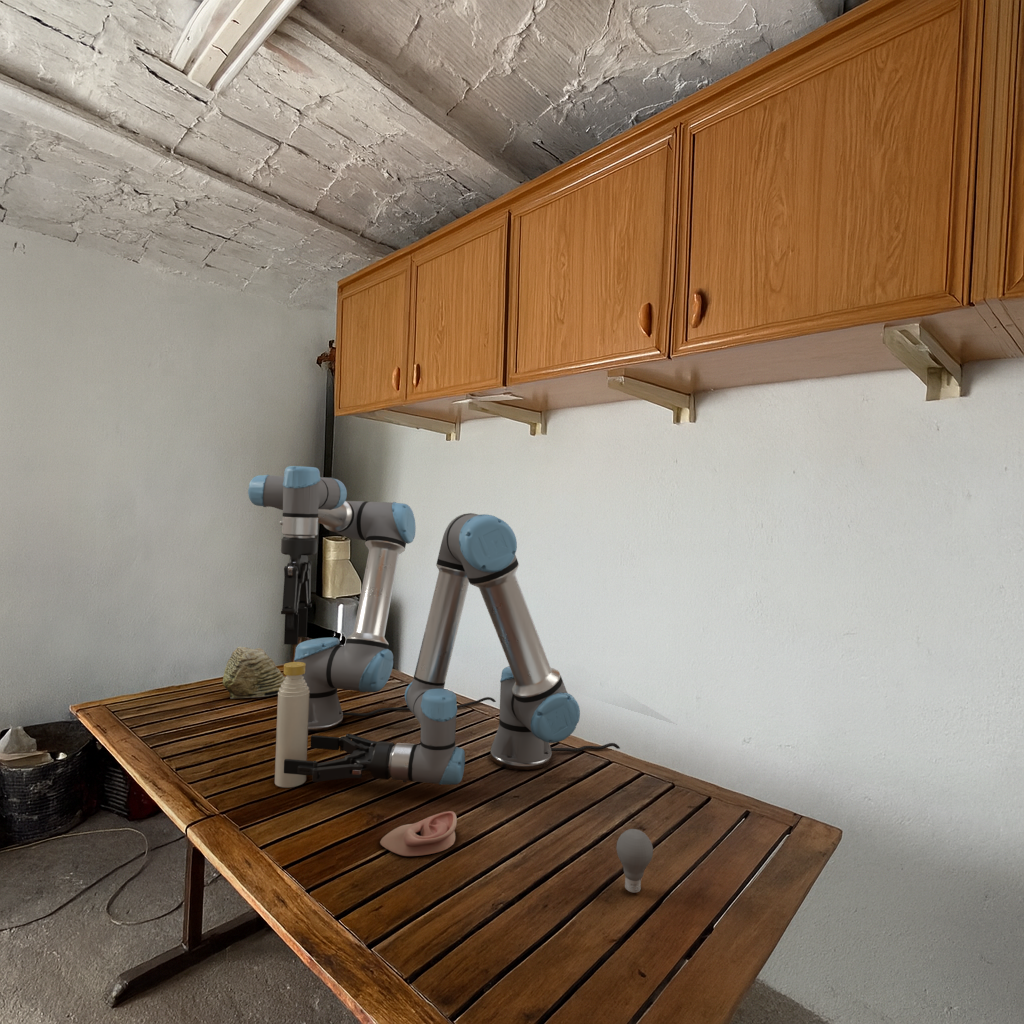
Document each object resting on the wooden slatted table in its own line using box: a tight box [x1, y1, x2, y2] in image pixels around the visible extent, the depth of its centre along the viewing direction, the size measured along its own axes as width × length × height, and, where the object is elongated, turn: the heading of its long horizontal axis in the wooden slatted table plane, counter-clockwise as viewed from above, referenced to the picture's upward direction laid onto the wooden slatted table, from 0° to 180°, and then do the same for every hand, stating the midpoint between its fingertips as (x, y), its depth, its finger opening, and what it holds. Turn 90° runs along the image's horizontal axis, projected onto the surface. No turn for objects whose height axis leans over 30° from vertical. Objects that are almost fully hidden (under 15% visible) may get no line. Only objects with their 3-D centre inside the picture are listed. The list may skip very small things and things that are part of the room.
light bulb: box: [615, 828, 654, 894], centre depth 106 cm, size 6×6×10 cm
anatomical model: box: [379, 810, 458, 857], centre depth 118 cm, size 13×4×12 cm
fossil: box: [222, 646, 286, 699], centre depth 198 cm, size 9×18×15 cm, turn 132°
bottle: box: [274, 675, 310, 789], centre depth 140 cm, size 7×7×26 cm
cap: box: [283, 661, 306, 676], centre depth 140 cm, size 5×5×2 cm
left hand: (295, 640), depth 140 cm, fingers open, 7 cm apart
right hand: (298, 753), depth 139 cm, fingers open, 13 cm apart
